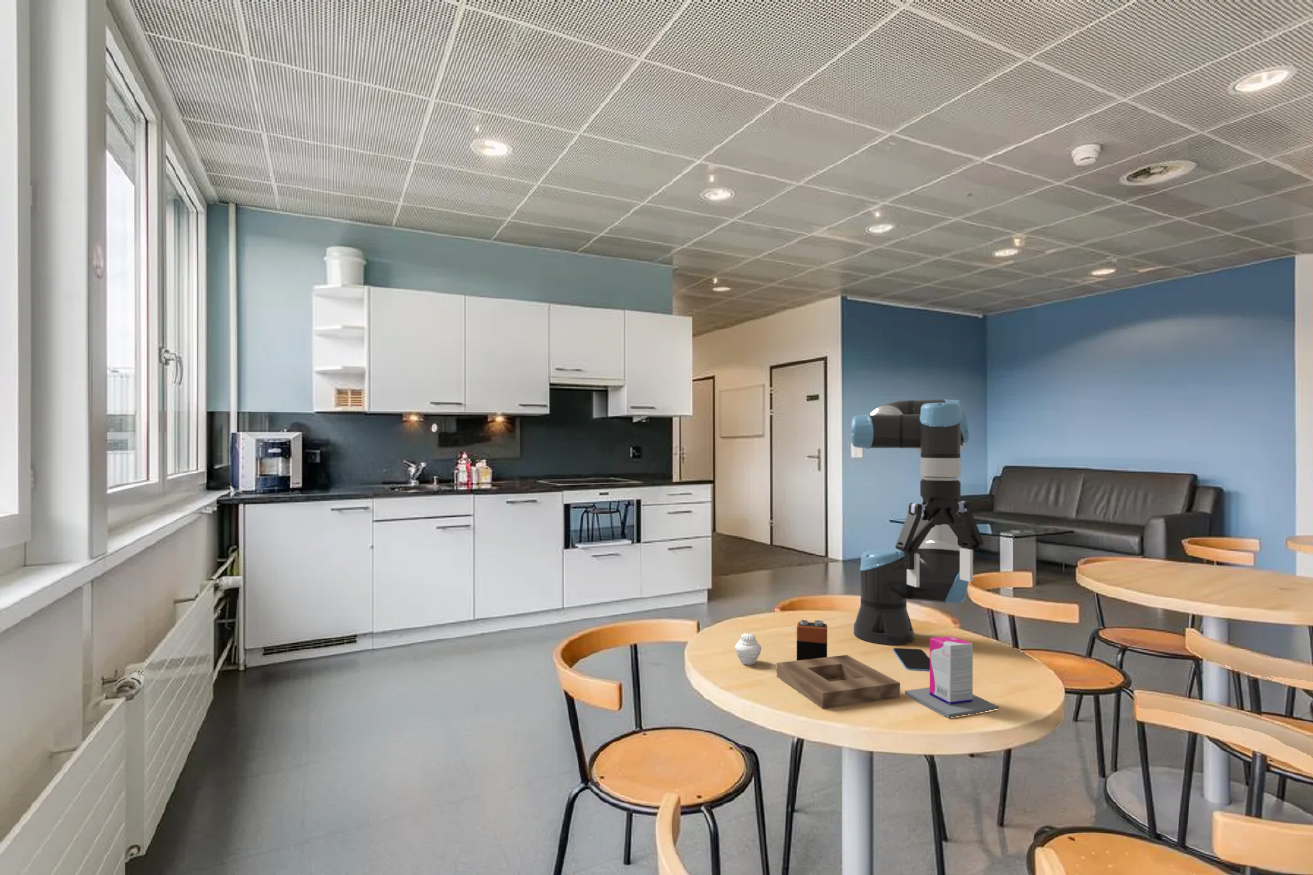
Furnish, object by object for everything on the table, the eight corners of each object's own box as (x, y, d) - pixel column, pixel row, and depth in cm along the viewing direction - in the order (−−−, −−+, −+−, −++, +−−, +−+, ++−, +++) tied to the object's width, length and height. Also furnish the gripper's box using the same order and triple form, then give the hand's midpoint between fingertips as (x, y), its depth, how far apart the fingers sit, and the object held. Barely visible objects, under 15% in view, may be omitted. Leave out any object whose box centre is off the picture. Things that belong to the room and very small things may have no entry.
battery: (826, 668, 146) (826, 624, 146) (796, 665, 148) (796, 622, 148) (827, 662, 150) (827, 619, 150) (797, 659, 152) (797, 617, 152)
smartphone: (906, 668, 145) (891, 647, 160) (906, 672, 145) (891, 650, 160) (940, 669, 144) (922, 648, 159) (940, 673, 144) (922, 651, 159)
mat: (951, 687, 135) (951, 684, 135) (998, 710, 123) (998, 706, 123) (904, 694, 131) (904, 690, 131) (948, 718, 119) (948, 714, 119)
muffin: (730, 660, 151) (730, 630, 151) (753, 657, 153) (753, 627, 154) (742, 668, 146) (742, 637, 146) (766, 665, 148) (766, 635, 148)
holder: (846, 668, 146) (846, 654, 146) (899, 697, 129) (899, 682, 129) (776, 676, 141) (776, 662, 141) (822, 708, 124) (822, 693, 124)
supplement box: (974, 701, 125) (974, 643, 125) (949, 705, 123) (949, 646, 124) (951, 691, 131) (951, 634, 131) (928, 694, 129) (928, 637, 129)
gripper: (973, 476, 138) (973, 574, 138) (877, 478, 129) (877, 583, 129) (1002, 478, 131) (1002, 582, 131) (903, 481, 122) (902, 592, 122)
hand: (940, 583), depth 130 cm, fingers open, 13 cm apart
